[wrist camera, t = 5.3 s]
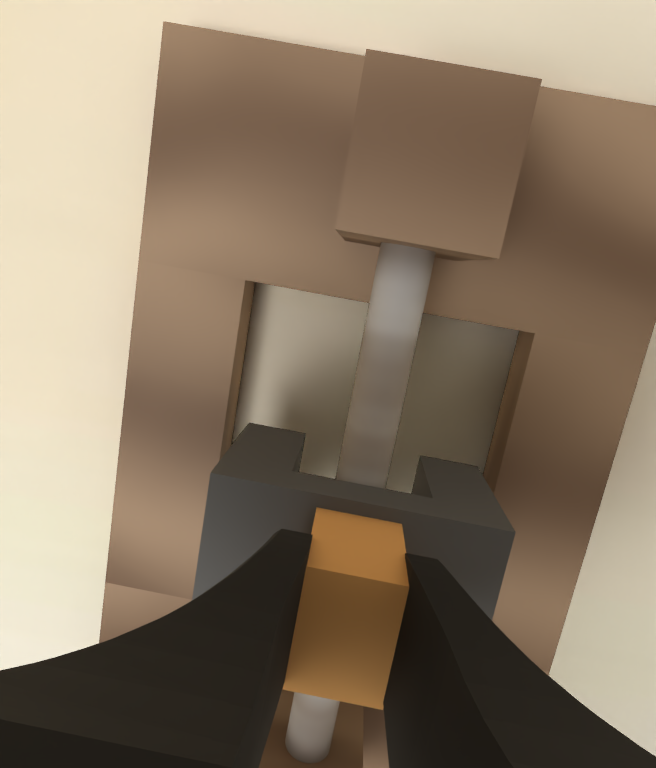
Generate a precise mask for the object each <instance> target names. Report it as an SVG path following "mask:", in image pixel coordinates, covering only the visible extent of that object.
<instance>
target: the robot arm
mask: <svg viewBox="0 0 656 768" xmlns="http://www.w3.org/2000/svg"><path fill="white" fill-rule="evenodd" d="M312 537H313V535H312V534H307V533H302V532H297V531H292V530H287V529H280V530H279V531H277V532H275V533H274V534H273V535H272V537H271V538H270V539H269V540H268V541H267V542H266V543H265V544H264V545H263V546H262V547H261V548H260V549H258V550H257V551H256V552H255V553H254V554H253V555H252V556H251V557H250V558H248V559H247V560H246V561H245V562H244V563H242V564H241V565H240V566H239V567H238V568H236V569H235V570H234V571H233V572H232V573H230V574H229V575H228V576H226V577H225V578H224V579H222V580H221V581H219V582H218V583H217V584H215V585H214V586H212V587H211V588H210V589H208V590H207V591H205V592H204V593H203V594H201V595H200V596H198V597H197V598H195V599H193V600H192V601H190V602H189V603H187V604H185V605H184V606H182V607H180V608H178V609H176V610H175V611H173V612H171V613H169V614H167V615H165V616H163V617H161V618H159V619H157V620H155V621H152V622H150V623H148V624H145V625H143V626H141V627H138V628H136V629H134V630H131V631H129V632H127V633H124V634H122V635H120V636H118V637H115V638H113V639H110V640H107V641H104V642H101V643H99V644H96V645H93V646H90V647H87V648H84V649H81V650H78V651H74V652H71V653H68V654H65V655H61V656H58V657H55V658H51V659H47V660H44V661H40V662H36V663H32V664H28V665H23V666H19V667H14V668H10V669H5V670H1V671H0V768H259V765H260V761H261V758H262V755H263V751H264V748H265V745H266V742H267V738H268V735H269V732H270V728H271V725H272V722H273V719H274V715H275V712H276V709H277V705H278V702H279V699H280V695H281V692H282V689H283V685H284V682H285V677H286V671H287V666H288V661H289V655H290V650H291V645H292V639H293V634H294V629H295V624H296V618H297V613H298V608H299V602H300V597H301V592H302V587H303V581H304V576H305V571H306V566H307V562H308V557H309V552H310V547H311V542H312ZM405 560H406V567H407V575H408V582H409V591H408V596H407V600H406V604H405V609H404V613H403V618H402V622H401V626H400V631H399V635H398V639H397V644H396V648H395V652H394V657H393V661H392V666H391V670H390V674H389V679H388V683H387V687H386V692H385V696H384V701H383V708H384V719H385V730H386V740H387V750H388V760H389V768H656V757H655V756H654V755H652V754H651V753H649V752H648V751H646V750H645V749H643V748H642V747H640V746H639V745H637V744H636V743H635V742H633V741H632V740H630V739H629V738H628V737H626V736H625V735H623V734H622V733H621V732H619V731H618V730H616V729H615V728H614V727H612V726H611V725H609V724H608V723H607V722H605V721H604V720H602V719H601V718H600V717H598V716H597V715H596V714H595V713H593V712H592V711H591V710H589V709H588V708H587V707H585V706H584V705H583V704H582V703H580V702H579V701H578V700H577V699H575V698H574V697H573V696H572V695H571V694H569V693H568V692H567V691H566V690H565V689H563V688H562V687H561V686H560V685H559V684H558V683H556V682H555V681H554V680H553V679H552V678H550V677H549V676H548V675H547V674H546V673H545V672H543V671H542V670H541V669H540V668H539V667H538V666H537V665H536V664H535V663H534V662H532V661H531V660H530V659H529V658H528V657H527V656H526V655H525V654H524V653H523V652H522V651H521V650H520V649H519V648H518V647H517V646H516V645H515V644H514V643H513V642H512V641H511V640H510V639H509V638H508V637H507V636H506V635H505V634H504V633H503V632H502V631H501V630H500V629H499V628H498V627H497V626H496V625H495V623H494V622H493V621H492V620H491V619H490V618H489V617H488V616H487V615H486V614H485V613H484V611H483V610H482V609H481V608H480V607H479V606H478V605H477V604H476V602H475V601H474V600H473V599H472V598H471V597H470V596H469V594H468V593H467V592H466V591H465V590H464V589H463V587H462V586H461V585H460V584H459V583H458V582H457V580H456V579H455V578H454V577H453V576H452V575H451V573H450V572H449V571H448V570H447V569H446V568H445V566H444V565H443V564H442V563H441V562H440V561H439V560H438V559H435V558H429V557H424V556H419V555H414V554H409V553H405Z"/></svg>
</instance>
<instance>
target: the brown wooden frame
mask: <svg viewBox="0 0 656 768" xmlns="http://www.w3.org/2000/svg"><path fill="white" fill-rule="evenodd" d="M541 81H542V79H538V78H532V77H526V76H521V75H515V74H509V73H503V72H497V71H492V70H486V69H480V68H474V67H468V66H463V65H457V64H451V63H445V62H439V61H433V60H428V59H422V58H416V57H410V56H404V55H399V54H393V53H387V52H381V51H375V50H370V49H366V55H365V56H361V55H355V54H350V53H344V52H338V51H332V50H326V49H321V48H315V47H309V46H303V45H297V44H292V43H286V42H280V41H274V40H268V39H263V38H257V37H251V36H245V35H239V34H234V33H228V32H222V31H216V30H210V29H205V28H199V27H193V26H187V25H181V24H176V23H170V22H163V31H162V41H161V51H160V60H159V70H158V80H157V89H156V99H155V109H154V118H153V128H152V138H151V147H150V157H149V167H148V176H147V186H146V195H145V205H144V215H143V224H142V234H141V244H140V253H139V263H138V273H137V282H136V292H135V302H134V311H133V321H132V331H131V340H130V350H129V360H128V369H127V379H126V389H125V398H124V408H123V418H122V427H121V437H120V447H119V456H118V466H117V475H116V485H115V495H114V504H113V514H112V524H111V533H110V543H109V553H108V562H107V572H106V582H105V591H104V601H103V611H102V620H101V630H100V640H99V643H101V642H104V641H107V640H110V639H113V638H115V637H118V636H120V635H122V634H124V633H127V632H129V631H131V630H134V629H136V628H138V627H141V626H143V625H145V624H148V623H150V622H152V621H155V620H157V619H159V618H161V617H163V616H165V615H167V614H169V613H171V612H173V611H175V610H176V609H178V608H180V607H182V606H184V605H185V604H187V603H189V602H190V601H192V596H193V589H194V583H195V576H196V569H197V562H198V555H199V548H200V541H201V534H202V527H203V520H204V514H205V507H206V500H207V493H208V486H209V479H210V473H211V471H212V470H213V469H214V467H215V466H216V465H217V464H218V462H219V461H220V460H221V458H222V457H223V456H224V454H225V453H226V452H227V451H228V449H229V448H230V447H231V442H232V436H233V429H234V422H235V415H236V409H237V402H238V395H239V388H240V382H241V375H242V368H243V361H244V355H245V348H246V341H247V334H248V328H249V321H250V314H251V307H252V301H253V294H254V287H255V282H258V283H264V284H269V285H275V286H280V287H286V288H291V289H296V290H302V291H307V292H313V293H318V294H324V295H329V296H334V297H340V298H345V299H351V300H356V301H362V302H367V303H369V307H368V313H367V318H366V323H365V328H364V333H363V338H362V344H361V349H360V354H359V359H358V364H357V370H356V375H355V380H354V385H353V390H352V396H351V401H350V406H349V411H348V416H347V422H346V427H345V432H344V437H343V442H342V448H341V453H340V458H339V463H338V468H337V474H336V480H342V481H347V482H352V483H357V484H362V485H367V486H373V487H378V488H383V489H385V488H386V483H387V479H388V474H389V469H390V465H391V460H392V455H393V450H394V446H395V441H396V436H397V432H398V427H399V422H400V418H401V413H402V408H403V404H404V399H405V394H406V390H407V385H408V380H409V376H410V371H411V366H412V362H413V357H414V352H415V347H416V343H417V338H418V333H419V329H420V324H421V319H422V315H423V313H427V314H432V315H438V316H443V317H448V318H454V319H459V320H465V321H470V322H476V323H481V324H486V325H492V326H497V327H503V328H508V329H514V330H519V334H518V338H517V342H516V346H515V350H514V354H513V358H512V362H511V366H510V370H509V374H508V378H507V382H506V386H505V390H504V394H503V398H502V402H501V406H500V410H499V414H498V418H497V422H496V426H495V430H494V434H493V438H492V442H491V445H490V449H489V453H488V457H487V461H486V465H485V469H484V473H483V477H484V478H485V480H486V482H487V484H488V485H489V487H490V489H491V491H492V492H493V494H494V496H495V497H496V499H497V501H498V503H499V504H500V506H501V508H502V509H503V511H504V513H505V515H506V516H507V518H508V520H509V522H510V523H511V525H512V527H513V528H514V530H515V532H516V533H515V537H514V540H513V544H512V548H511V552H510V555H509V559H508V563H507V567H506V570H505V574H504V578H503V582H502V585H501V589H500V593H499V597H498V600H497V604H496V608H495V611H494V615H493V619H492V621H493V622H494V623H495V625H496V626H497V627H498V628H499V629H500V630H501V631H502V632H503V633H504V634H505V635H506V636H507V637H508V638H509V639H510V640H511V641H512V642H513V643H514V644H515V645H516V646H517V647H518V648H519V649H520V650H521V651H522V652H523V653H524V654H525V655H526V656H527V657H528V658H529V659H530V660H531V661H532V662H534V663H535V664H536V665H537V666H538V667H539V668H540V669H541V670H542V671H543V672H545V673H546V674H547V675H549V671H550V668H551V665H552V661H553V658H554V655H555V652H556V648H557V645H558V642H559V638H560V635H561V632H562V628H563V625H564V622H565V619H566V615H567V612H568V609H569V605H570V602H571V599H572V595H573V592H574V589H575V586H576V582H577V579H578V576H579V572H580V569H581V566H582V562H583V559H584V556H585V553H586V549H587V546H588V543H589V539H590V536H591V533H592V529H593V526H594V523H595V520H596V516H597V513H598V510H599V506H600V503H601V500H602V496H603V493H604V490H605V487H606V483H607V480H608V477H609V473H610V470H611V467H612V463H613V460H614V457H615V454H616V450H617V447H618V444H619V440H620V437H621V434H622V430H623V427H624V424H625V421H626V417H627V414H628V411H629V407H630V404H631V401H632V397H633V394H634V391H635V388H636V384H637V381H638V378H639V374H640V371H641V368H642V364H643V361H644V358H645V355H646V351H647V348H648V345H649V341H650V338H651V335H652V332H653V328H654V325H655V322H656V106H651V105H645V104H640V103H634V102H628V101H622V100H616V99H611V98H605V97H599V96H593V95H587V94H582V93H576V92H570V91H564V90H558V89H553V88H547V87H541V86H540V85H541ZM259 768H389V760H388V750H387V740H386V730H385V719H384V708H383V710H380V709H376V708H371V707H366V706H361V705H356V704H351V703H346V702H341V701H336V700H332V699H327V698H322V697H317V696H312V695H307V694H302V693H297V692H292V691H287V690H283V689H282V692H281V695H280V699H279V702H278V705H277V709H276V712H275V715H274V719H273V722H272V725H271V728H270V732H269V735H268V738H267V742H266V745H265V748H264V751H263V755H262V758H261V761H260V765H259Z"/></svg>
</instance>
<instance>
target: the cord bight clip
mask: <svg viewBox="0 0 656 768" xmlns="http://www.w3.org/2000/svg"><path fill="white" fill-rule="evenodd" d="M304 440H305V433H300V432H295V431H290V430H284V429H279V428H274V427H269V426H264V425H258V424H253V423H248V425H247V426H246V427H245V428H244V430H243V431H242V432H241V434H240V435H239V436H238V438H237V439H236V440H235V441H234V443H233V444H232V445H231V447H230V448H229V449H228V451H227V452H226V453H225V454H224V456H223V457H222V458H221V460H220V461H219V462H218V464H217V465H216V466H215V467H214V469H213V470H212V471H211V473H210V479H209V486H208V493H207V500H206V507H205V514H204V520H203V527H202V534H201V541H200V548H199V555H198V562H197V569H196V576H195V583H194V589H193V596H192V600H193V599H195V598H197V597H198V596H200V595H201V594H203V593H204V592H205V591H207V590H208V589H210V588H211V587H212V586H214V585H215V584H217V583H218V582H219V581H221V580H222V579H224V578H225V577H226V576H228V575H229V574H230V573H232V572H233V571H234V570H235V569H236V568H238V567H239V566H240V565H241V564H242V563H244V562H245V561H246V560H247V559H248V558H250V557H251V556H252V555H253V554H254V553H255V552H256V551H257V550H258V549H260V548H261V547H262V546H263V545H264V544H265V543H266V542H267V541H268V540H269V539H270V538H271V537H272V535H273V534H274V533H275V532H277V531H279V530H280V529H287V530H292V531H297V532H302V533H307V534H312V535H313V537H312V542H311V547H310V552H309V557H308V562H307V566H306V571H305V576H304V581H303V587H302V592H301V597H300V602H299V608H298V613H297V618H296V624H295V629H294V634H293V639H292V645H291V650H290V655H289V661H288V666H287V671H286V677H285V682H284V685H283V690H287V691H292V692H297V693H302V694H307V695H312V696H317V697H322V698H327V699H332V700H336V701H341V702H346V703H351V704H356V705H361V706H366V707H371V708H376V709H380V710H383V701H384V696H385V692H386V687H387V683H388V679H389V674H390V670H391V666H392V661H393V657H394V652H395V648H396V644H397V639H398V635H399V631H400V626H401V622H402V618H403V613H404V609H405V604H406V600H407V596H408V591H409V582H408V575H407V567H406V560H405V553H409V554H414V555H419V556H424V557H429V558H435V559H438V560H439V561H440V562H441V563H442V564H443V565H444V566H445V568H446V569H447V570H448V571H449V572H450V573H451V575H452V576H453V577H454V578H455V579H456V580H457V582H458V583H459V584H460V585H461V586H462V587H463V589H464V590H465V591H466V592H467V593H468V594H469V596H470V597H471V598H472V599H473V600H474V601H475V602H476V604H477V605H478V606H479V607H480V608H481V609H482V610H483V611H484V613H485V614H486V615H487V616H488V617H489V618H490V619H491V620H492V619H493V615H494V611H495V608H496V604H497V600H498V597H499V593H500V589H501V585H502V582H503V578H504V574H505V570H506V567H507V563H508V559H509V555H510V552H511V548H512V544H513V540H514V537H515V533H516V532H515V530H514V528H513V527H512V525H511V523H510V522H509V520H508V518H507V516H506V515H505V513H504V511H503V509H502V508H501V506H500V504H499V503H498V501H497V499H496V497H495V496H494V494H493V492H492V491H491V489H490V487H489V485H488V484H487V482H486V480H485V478H484V477H483V475H482V473H481V472H480V470H479V468H478V467H477V466H472V465H467V464H462V463H456V462H451V461H446V460H441V459H436V458H430V457H425V456H420V458H419V462H418V466H417V471H416V475H415V480H414V484H413V489H412V493H411V494H409V493H404V492H398V491H393V490H388V489H383V488H378V487H373V486H367V485H362V484H357V483H352V482H347V481H342V480H336V479H331V478H326V477H321V476H316V475H311V474H306V473H300V472H299V468H300V462H301V457H302V451H303V445H304Z"/></svg>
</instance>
